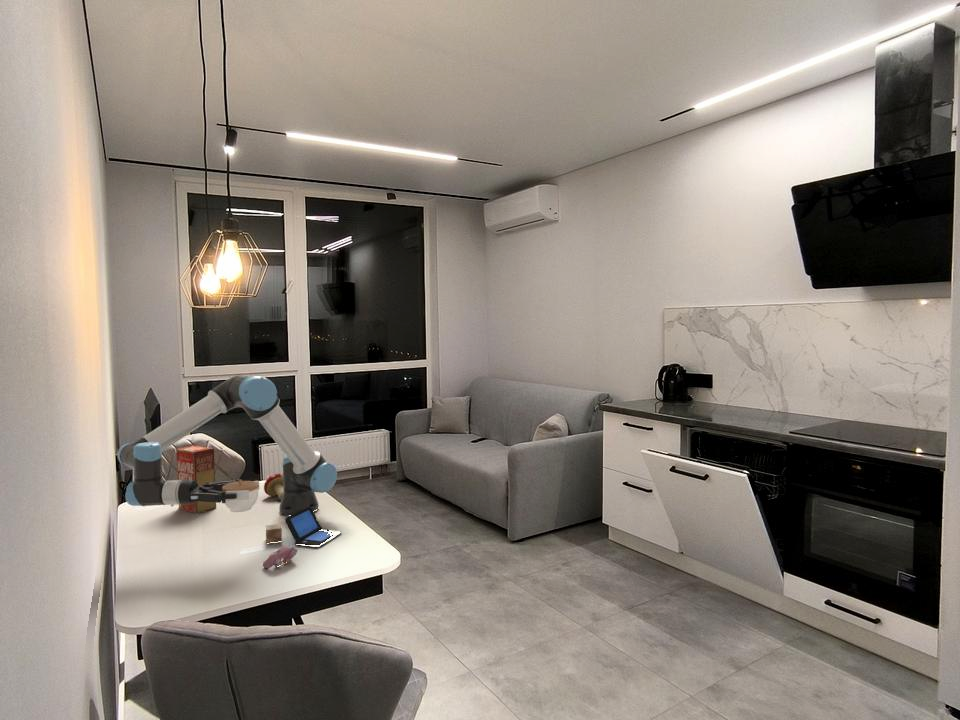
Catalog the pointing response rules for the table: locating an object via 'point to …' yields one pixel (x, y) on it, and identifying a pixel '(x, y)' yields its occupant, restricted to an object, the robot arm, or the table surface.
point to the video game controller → (280, 556)
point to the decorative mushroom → (274, 486)
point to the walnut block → (273, 533)
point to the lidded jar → (242, 504)
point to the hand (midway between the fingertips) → (253, 489)
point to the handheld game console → (306, 528)
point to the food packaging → (196, 472)
